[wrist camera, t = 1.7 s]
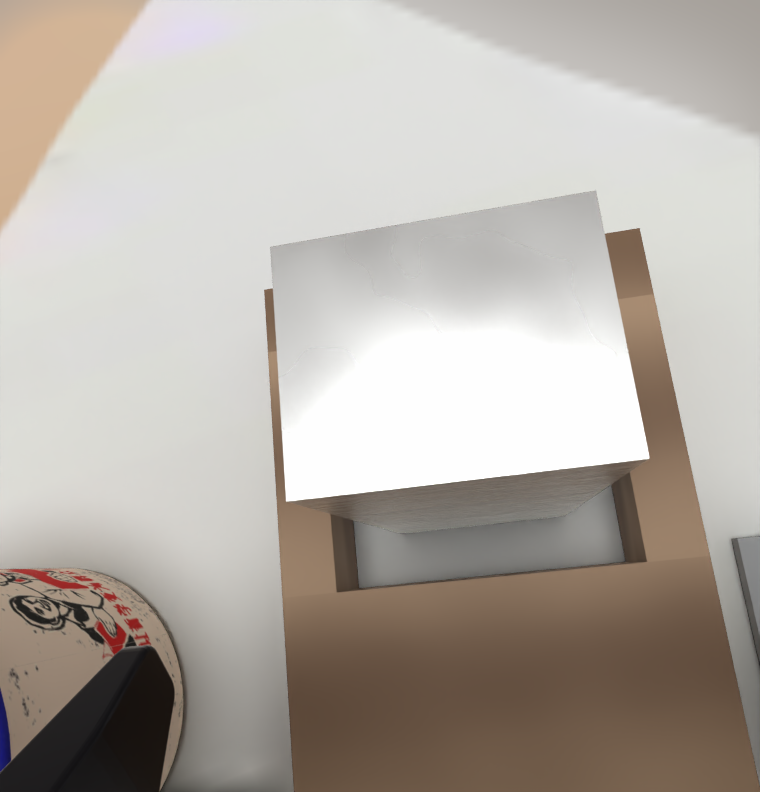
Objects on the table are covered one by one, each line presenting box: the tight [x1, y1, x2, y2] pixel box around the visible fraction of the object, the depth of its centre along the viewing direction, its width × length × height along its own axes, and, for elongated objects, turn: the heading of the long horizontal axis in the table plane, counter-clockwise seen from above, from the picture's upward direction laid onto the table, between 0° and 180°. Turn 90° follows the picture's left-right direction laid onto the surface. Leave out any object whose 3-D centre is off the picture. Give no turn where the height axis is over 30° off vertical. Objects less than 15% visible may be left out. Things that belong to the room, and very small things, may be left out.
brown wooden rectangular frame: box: [264, 228, 760, 792], centre depth 19 cm, size 14×11×3 cm
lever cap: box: [270, 191, 650, 534], centre depth 16 cm, size 4×5×12 cm
